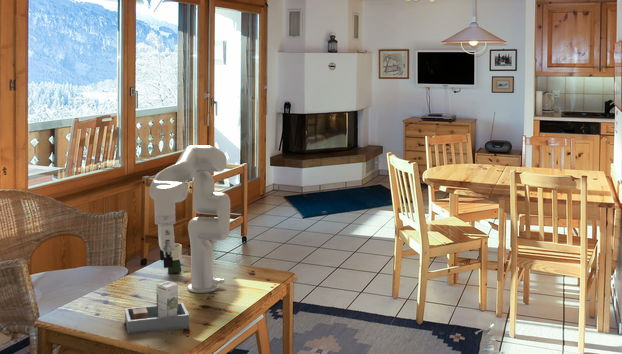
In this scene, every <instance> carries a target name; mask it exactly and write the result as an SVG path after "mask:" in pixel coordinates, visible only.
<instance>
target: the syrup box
mask: <svg viewBox="0 0 622 354" xmlns="http://www.w3.org/2000/svg"><path fill="white" fill-rule="evenodd" d="M178 286H179V285H178V283H176V282H173V281H169V280H167V281H163V282H161V283H158V284H156V290H155V291H156V305H157V317H165V316H174V315H178V303H179V287H178Z"/></svg>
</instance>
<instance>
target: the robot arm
mask: <svg viewBox="0 0 622 354" xmlns="http://www.w3.org/2000/svg"><path fill="white" fill-rule="evenodd" d="M227 164H228V162H227V156H226V154H225V153H224V152H223V151H222V150H220V149H219V148H218V147H215V146H212V145H199V144H196V145H188V146H186V147H185V148H184V149H183V151H182V152H181V154H180V155H179V157H178V159H177V161H176V162H175V164H172V165H170V166H168V167H166V168H164V169H163V170H160V171H159V172H158V173H156V175H155V177H154V178H153V179H152V182H151V183H150V186H149V189H148V193H149V196H150V198H151V200H153V203H154V205H153V207H154V224H155V225H157V231H158V232H157V233H158V234H157V235H158V245H159V248H160V250H159V259H160V261H163V268H164V269H168V268H171V267H173V257H172V250H175V244H176V242H175V228H174V224H176V223H177V221H176V203H181V202H183V201H185V200H186V198H187V197H188V195H189V188H188V186H187V184H186V183H184V182H187V181H189V180H191V179H193V197H192V200H193V201H192V209H193V211H194V213H196V214H200V215H201V214H203V215H215V216H217V217H211V216H210V217H207V216H205V217H204V216H196V217H193V218H192V219H190V220H189V222H188V224H187V231H188V236H189V241H190V242H189V243H190V244H189V245H190V275H191V276H190V280H191V283H190V284H187V290H188V291H189V292H190V293H197V294H205V293H206V294H207V293H211V292H214V291H216V290H217V289H218V285H220V284H225V279H224V278H222V279H221V278H220V277H218V278H215V276H214V248H213V245H212V243H211V242H210V241H225V240H228V238H229V233H230V224H231V223H230V221H231V199H230V196H229V195H228V194H227V193H225V192H218V191H217V192H216V191H215V180H214V178H213V175H212V174H211V173H210V172H212V173H213V172H214V173H220V172H223V171H224V170H225V169H226V167H227ZM171 249H172V250H171Z"/></svg>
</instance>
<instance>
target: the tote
mask: <svg viewBox="0 0 622 354" xmlns="http://www.w3.org/2000/svg"><path fill="white" fill-rule="evenodd" d="M140 308H146V309H147V312H148V318H146V319H137V320H133V309H140ZM124 322H125V326H126V330H127V334H128V336H129V335H137V334H145V333H155V332H164V331H171V330H180V329H189V328H190V314H189V312H188V309H187V308H186V306H185V304H184V302H178V315H174V316H165V317H157V304H155V305H147V306H137V307H136V306H134V307H125V308H124Z"/></svg>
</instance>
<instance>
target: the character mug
mask: <svg viewBox="0 0 622 354" xmlns="http://www.w3.org/2000/svg"><path fill="white" fill-rule="evenodd" d="M171 250H172V249H171ZM182 251H183V246H182V244H180V243H175V250H172V257H173V267H171V268H167V273H169V274H172V273H173V274H174V273H175V274H177V273H181V272H182V266H181V259H182V258H183V254H182V253H183V252H182Z"/></svg>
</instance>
